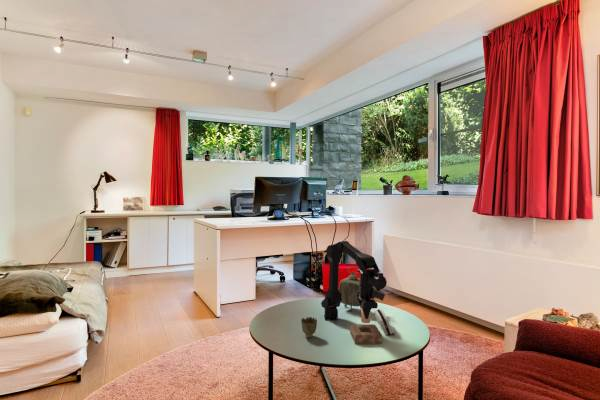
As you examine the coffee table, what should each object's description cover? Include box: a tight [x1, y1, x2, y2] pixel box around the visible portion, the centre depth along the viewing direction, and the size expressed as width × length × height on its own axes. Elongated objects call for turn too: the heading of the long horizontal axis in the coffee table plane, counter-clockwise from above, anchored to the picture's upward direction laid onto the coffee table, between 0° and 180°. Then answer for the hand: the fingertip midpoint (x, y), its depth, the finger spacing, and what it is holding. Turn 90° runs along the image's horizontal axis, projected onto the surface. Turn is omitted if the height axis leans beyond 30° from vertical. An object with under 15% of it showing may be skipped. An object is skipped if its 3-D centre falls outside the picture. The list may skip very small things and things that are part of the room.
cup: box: [300, 316, 318, 339], centre depth 159 cm, size 8×7×8 cm
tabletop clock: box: [338, 266, 360, 312], centre depth 195 cm, size 14×9×25 cm, turn 58°
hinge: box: [373, 308, 397, 336], centre depth 170 cm, size 17×5×10 cm, turn 0°
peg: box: [360, 307, 371, 324], centre depth 158 cm, size 4×4×8 cm
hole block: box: [349, 324, 383, 345], centre depth 158 cm, size 12×12×4 cm
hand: (365, 317), depth 158 cm, fingers closed on peg, 4 cm apart
